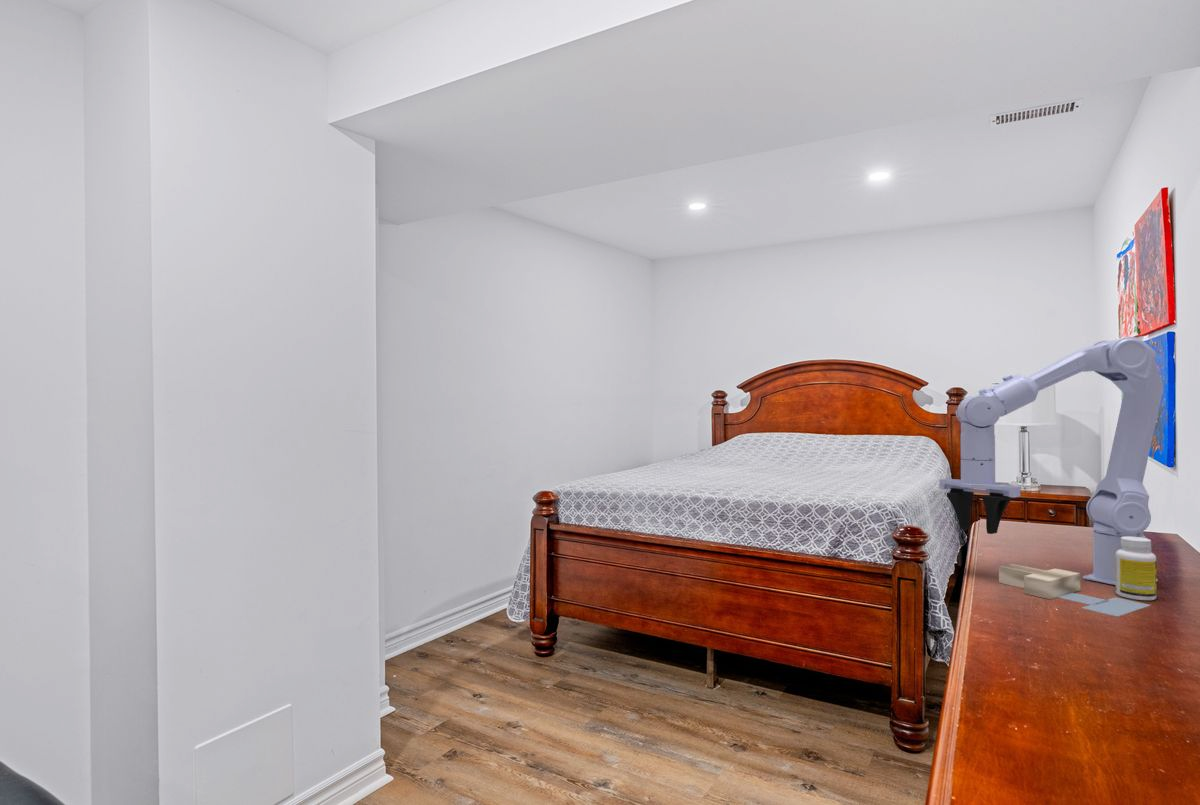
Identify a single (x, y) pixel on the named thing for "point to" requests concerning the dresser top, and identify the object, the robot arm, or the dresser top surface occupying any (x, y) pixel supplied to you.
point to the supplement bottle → (1136, 569)
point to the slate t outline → (1106, 604)
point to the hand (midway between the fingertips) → (978, 530)
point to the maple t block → (1040, 580)
